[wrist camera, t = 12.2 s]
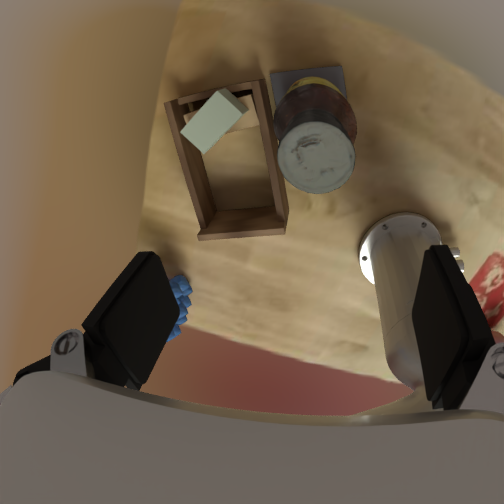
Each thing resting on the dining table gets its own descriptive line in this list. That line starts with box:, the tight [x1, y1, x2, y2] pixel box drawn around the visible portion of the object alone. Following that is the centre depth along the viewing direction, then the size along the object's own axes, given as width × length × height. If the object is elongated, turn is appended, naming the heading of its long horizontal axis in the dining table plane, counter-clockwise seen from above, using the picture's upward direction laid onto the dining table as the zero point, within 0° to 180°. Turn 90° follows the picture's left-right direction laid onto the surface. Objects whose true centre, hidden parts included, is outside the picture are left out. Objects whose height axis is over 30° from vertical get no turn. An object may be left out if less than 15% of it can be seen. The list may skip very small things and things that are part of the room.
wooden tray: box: [164, 79, 289, 241], centre depth 33 cm, size 11×17×6 cm, turn 12°
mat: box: [270, 66, 347, 108], centre depth 30 cm, size 8×8×1 cm
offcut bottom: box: [183, 93, 260, 134], centre depth 32 cm, size 8×4×4 cm, turn 107°
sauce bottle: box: [273, 77, 357, 194], centre depth 22 cm, size 6×6×20 cm
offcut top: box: [180, 88, 249, 154], centre depth 29 cm, size 6×4×3 cm, turn 136°
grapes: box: [166, 275, 193, 342], centre depth 45 cm, size 12×7×12 cm, turn 171°
